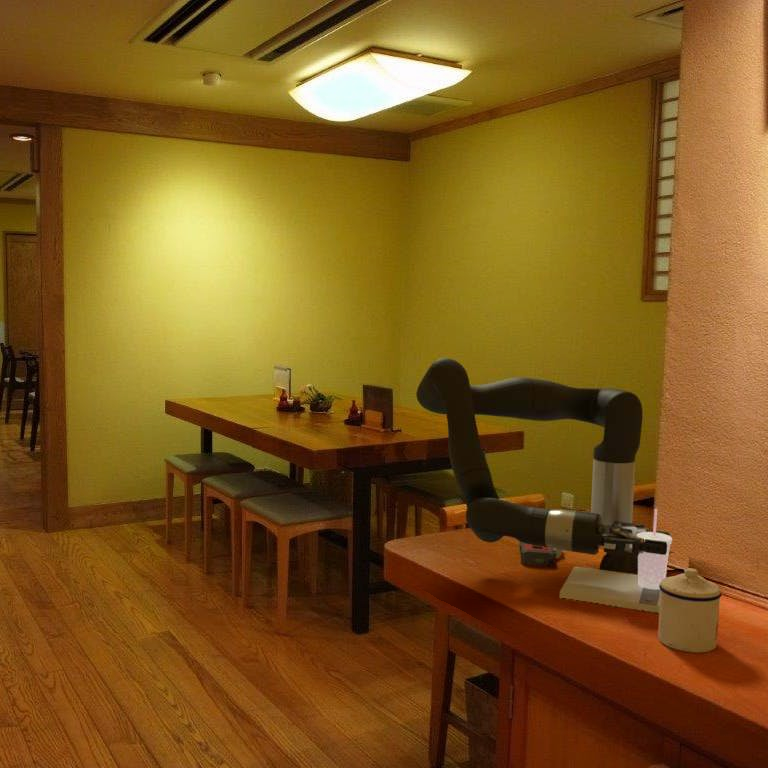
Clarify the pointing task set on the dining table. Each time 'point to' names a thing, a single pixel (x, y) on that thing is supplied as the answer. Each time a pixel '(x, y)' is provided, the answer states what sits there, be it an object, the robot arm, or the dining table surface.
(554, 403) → the robot arm
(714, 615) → the teacup with lid
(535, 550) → the walkie-talkie
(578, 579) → the floor panel
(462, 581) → the dining table surface
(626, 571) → the hand tool
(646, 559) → the beverage cup
